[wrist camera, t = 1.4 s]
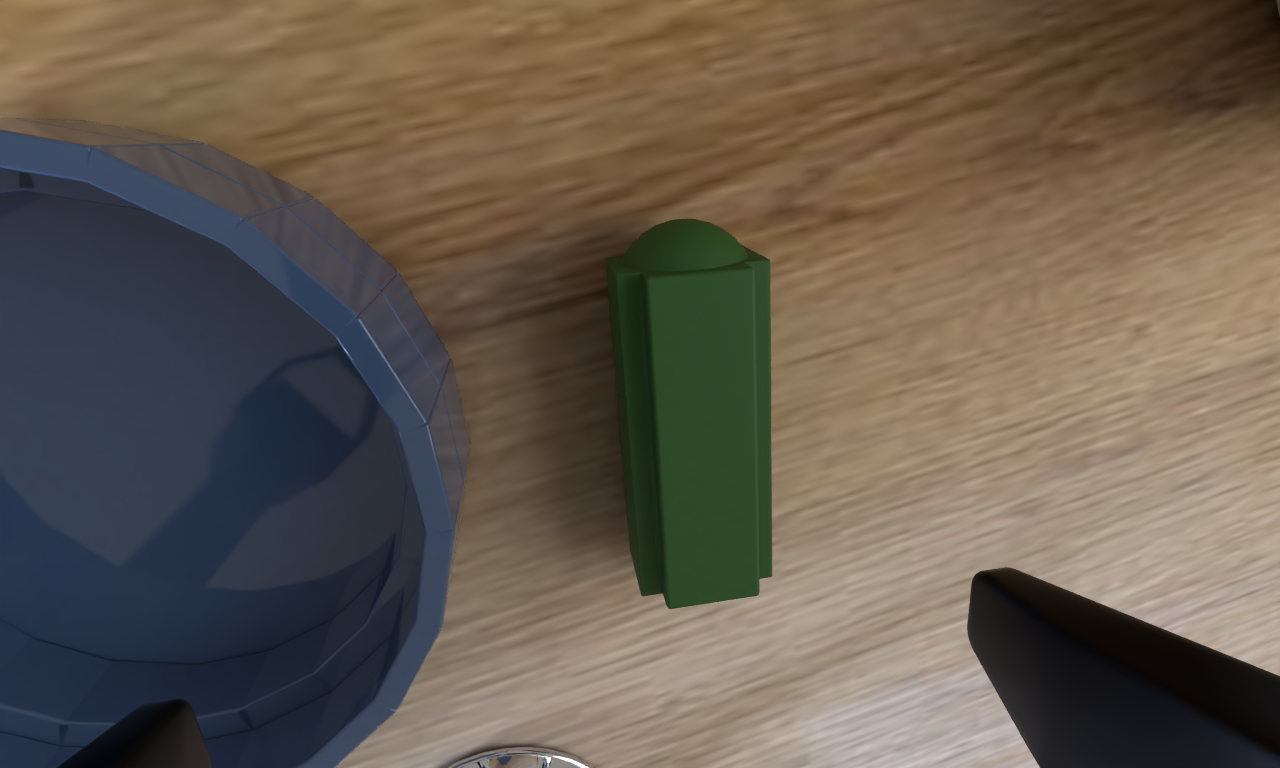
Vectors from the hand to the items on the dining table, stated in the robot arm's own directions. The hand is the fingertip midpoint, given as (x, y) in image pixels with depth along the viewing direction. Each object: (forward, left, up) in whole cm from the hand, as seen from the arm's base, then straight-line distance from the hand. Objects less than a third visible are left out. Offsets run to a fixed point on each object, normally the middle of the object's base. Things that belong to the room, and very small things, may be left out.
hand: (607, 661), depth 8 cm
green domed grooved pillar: (-1, -3, -12) cm, 12 cm away
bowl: (-4, +10, -12) cm, 16 cm away
